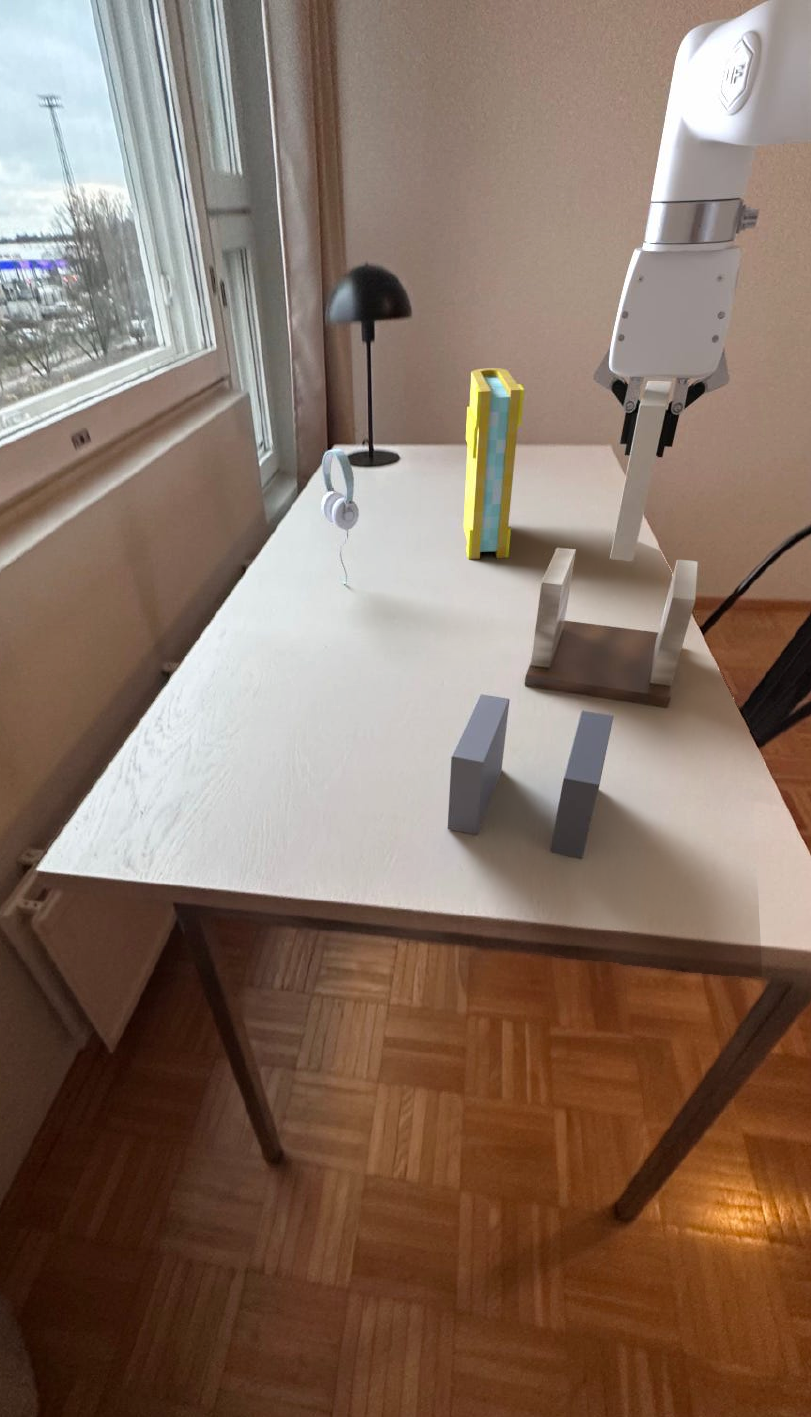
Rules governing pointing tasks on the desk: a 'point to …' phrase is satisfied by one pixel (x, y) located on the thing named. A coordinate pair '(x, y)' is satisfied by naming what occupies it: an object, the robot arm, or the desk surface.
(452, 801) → the grey books
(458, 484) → the desk surface
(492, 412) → the book
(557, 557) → the letter rack
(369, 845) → the desk surface
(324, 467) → the headphones
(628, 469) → the thin book
